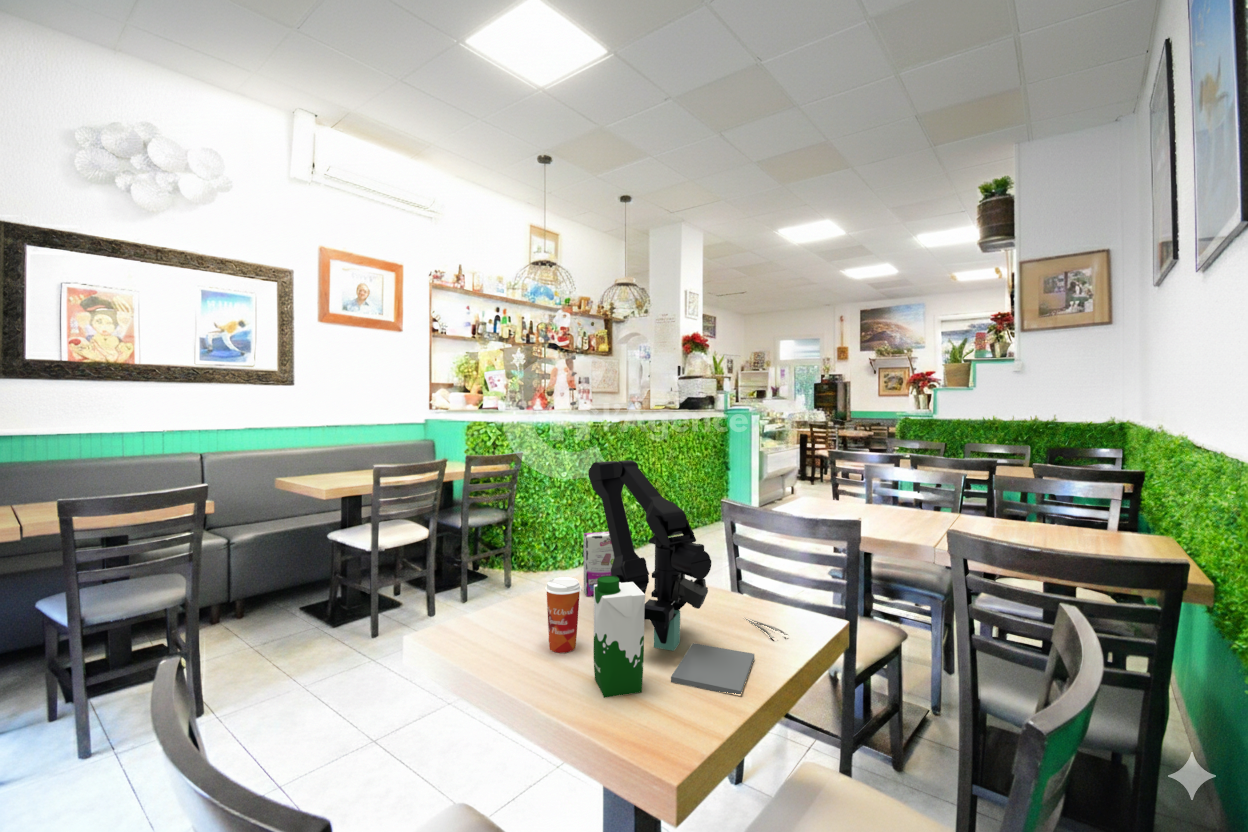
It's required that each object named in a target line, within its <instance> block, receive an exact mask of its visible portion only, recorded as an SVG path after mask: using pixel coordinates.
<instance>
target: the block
mask: <svg viewBox="0 0 1248 832" xmlns="http://www.w3.org/2000/svg"><path fill="white" fill-rule="evenodd" d="M674 614H677V615H676V616H675V617H674V618H673V619H672V620H671V621H670V624H669V630H668V636H667V641H666V644H663V643H661V642H660V640H659V638H658V635H657V633H656V631H655V629H654V628H653V648H655V649H661V650H665V651H672V652H674V651H675V650H676V649H677V647H678V646H679V644H680V643H681V610H679V611H678V610H674Z"/></svg>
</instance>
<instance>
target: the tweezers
mask: <svg viewBox="0 0 1248 832" xmlns="http://www.w3.org/2000/svg"><path fill="white" fill-rule="evenodd" d="M744 618H745V619H746V618H747V617H744ZM745 619H744V620H745ZM748 619H750V620H752V621H754V622H757V623H759V624H761V625H764V626H767V627H769V628H771V629H773V630H775V631H778V632H780V633H783V634H784V635H788V636H789V634H788V633H786V632H784V631H783V630H782V629H780V628H777V627H776V626H773V625H770V624H767V623H764V622H761V621H758V620H754V619H751V618H748ZM748 619H746V620H745V621H747V620H748ZM750 620H748V621H749V622H748V621H747V622H748V623H750V622H751V623H752V625H753V624H754V625H755V626H757V627H758V628H760V629H761V630H763V631H764V632H766V633H767V634H768V635H769V637H770V638H775V637H774V635H772V634H771V633H770V631H768V629H767V628H765V627H763V626H761V625H759V624H756V623H754V622H752V621H750ZM751 623H750V624H751ZM754 625H753V626H754ZM757 627H756V628H757ZM758 628H757V629H758ZM761 630H760V631H761ZM764 632H763V633H764ZM769 637H768V638H769ZM770 638H769V639H770Z"/></svg>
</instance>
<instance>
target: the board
mask: <svg viewBox="0 0 1248 832" xmlns="http://www.w3.org/2000/svg"><path fill="white" fill-rule="evenodd" d="M753 660H754V661H755V653H751V652H748V651H747V652H746V651H741V650H735V649H728V648H724V647H718V646H712V645H708V644H707V645H706V644H702V643H696V642H692V643H691V645H690V647H689V648H688V649H687V651H686V653H685V654H684V656H683V657H682V659H681V660H680V662H679V664H678V665H677V667H676V668H675V670H674V671H673V673H672V675H671V676H670V683H674V684H678V685H679V684H680V685H683V686H688V687H694V688H698V689H704V690H707V691H711V692H712V691H713V692H717V691H718V692H717V693H721V692H726V693H727V692H728V693H734V694H735V693H736V694H741V692H742V693H743V691H744V689H743V687H744V688H745V686H744V684H745V685H746V683H745V682H747V680H748V678H747V676H748V677H749V675H750V672H749V671H751V669H752V667H751V665H752V666H753V664H752V662H753V663H754V661H753ZM750 668H751V669H750ZM748 674H749V675H748ZM746 679H747V680H746ZM742 690H743V691H742ZM719 691H720V692H719ZM726 693H725V694H726ZM741 695H742V694H741Z"/></svg>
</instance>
